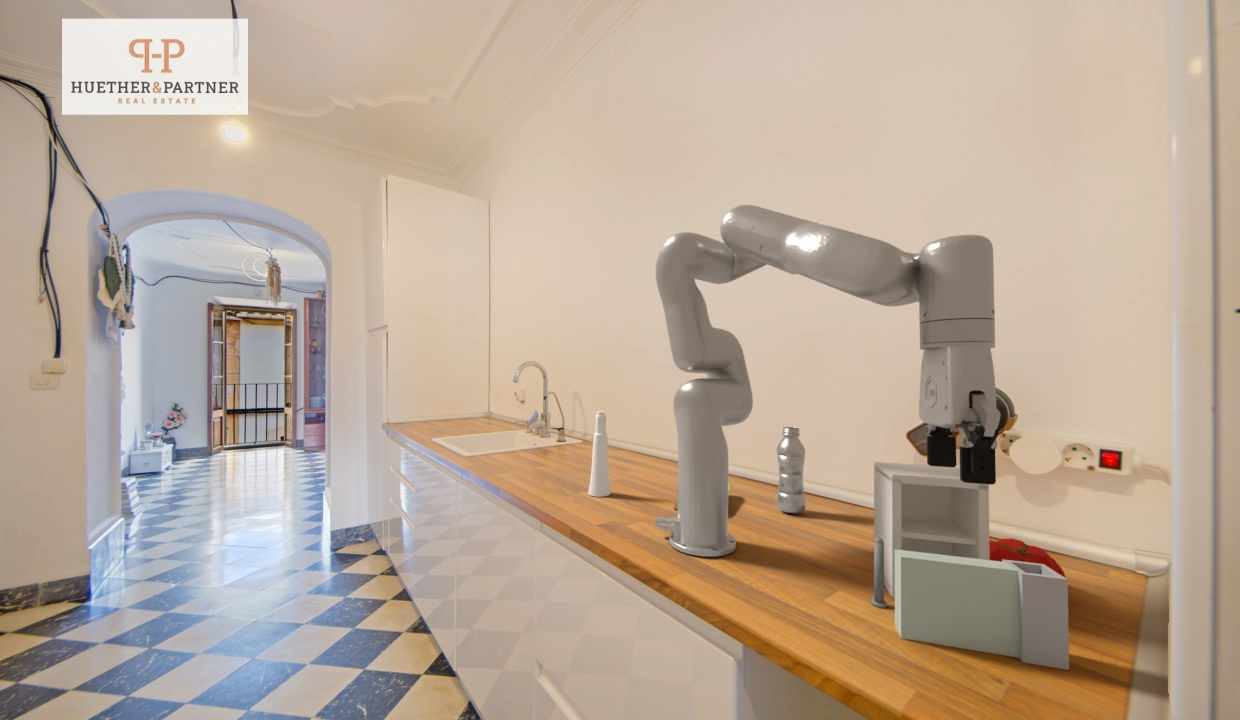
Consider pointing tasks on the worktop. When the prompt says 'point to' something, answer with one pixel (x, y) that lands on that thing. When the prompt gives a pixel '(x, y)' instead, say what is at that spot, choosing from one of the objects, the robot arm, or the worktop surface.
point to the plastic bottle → (791, 472)
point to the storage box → (983, 606)
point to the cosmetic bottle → (600, 460)
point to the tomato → (1021, 553)
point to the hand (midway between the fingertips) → (958, 473)
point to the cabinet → (925, 517)
